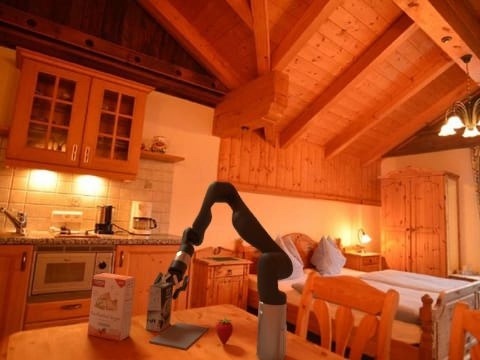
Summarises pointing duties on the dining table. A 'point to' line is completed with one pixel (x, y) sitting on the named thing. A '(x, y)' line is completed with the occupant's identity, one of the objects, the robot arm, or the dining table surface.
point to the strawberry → (224, 330)
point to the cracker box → (111, 306)
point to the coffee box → (159, 306)
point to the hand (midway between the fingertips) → (164, 297)
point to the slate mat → (180, 335)
